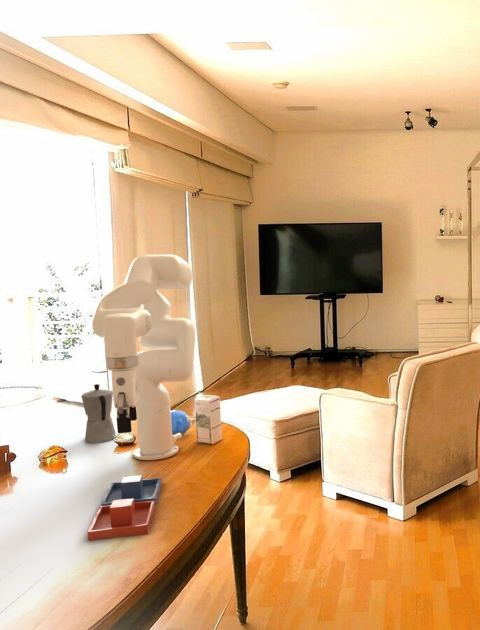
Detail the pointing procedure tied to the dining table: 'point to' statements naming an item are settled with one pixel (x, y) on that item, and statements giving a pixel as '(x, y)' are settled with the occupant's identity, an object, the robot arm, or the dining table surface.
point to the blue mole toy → (180, 422)
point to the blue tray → (149, 494)
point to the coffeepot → (98, 415)
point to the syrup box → (208, 419)
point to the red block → (122, 512)
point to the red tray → (140, 525)
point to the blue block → (132, 487)
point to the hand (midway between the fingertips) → (127, 426)
